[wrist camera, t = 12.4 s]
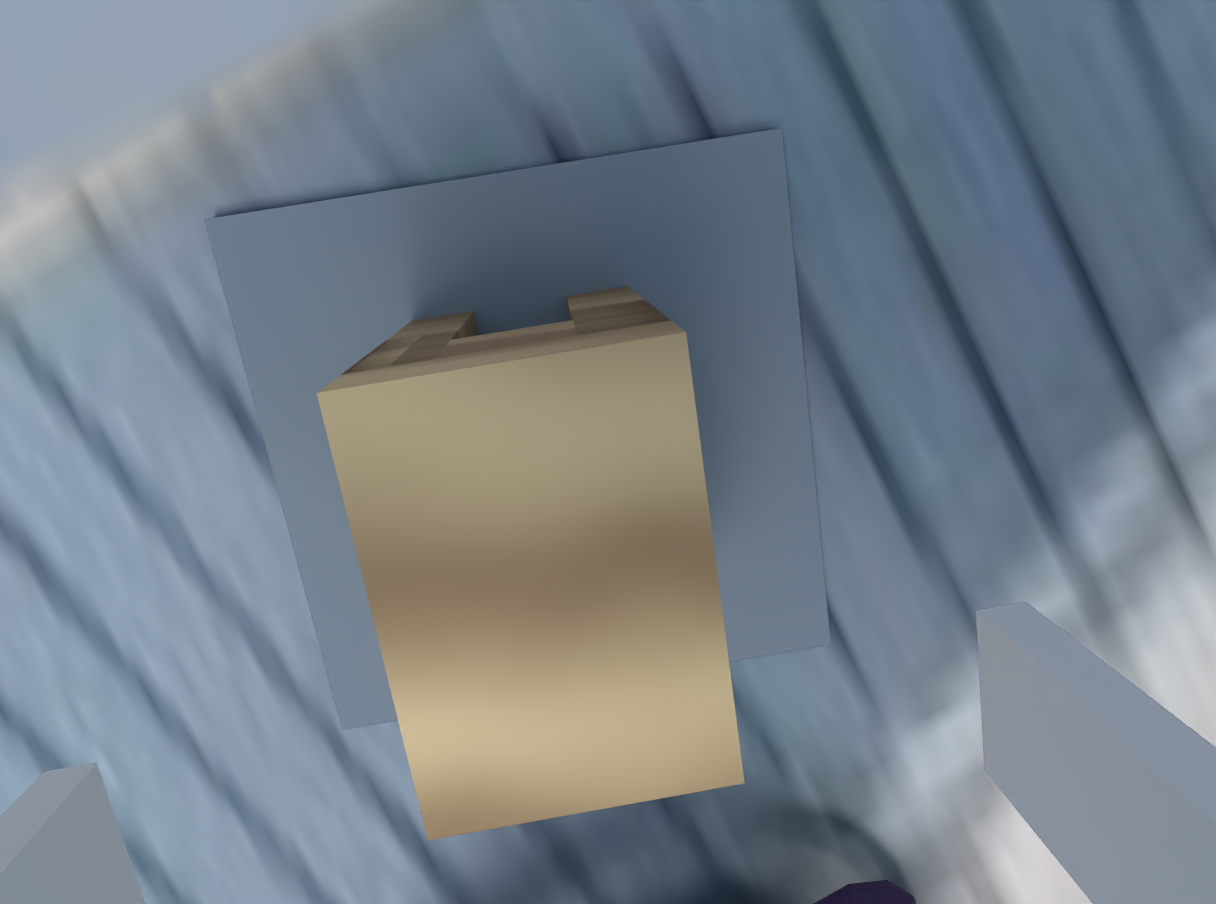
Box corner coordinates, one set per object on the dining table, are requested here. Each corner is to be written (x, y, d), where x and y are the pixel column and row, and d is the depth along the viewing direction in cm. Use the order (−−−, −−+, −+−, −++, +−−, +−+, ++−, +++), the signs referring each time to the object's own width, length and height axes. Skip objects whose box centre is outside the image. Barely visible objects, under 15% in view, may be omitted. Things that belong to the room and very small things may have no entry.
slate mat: (775, 130, 28) (782, 127, 27) (823, 634, 33) (830, 644, 32) (213, 219, 27) (204, 219, 26) (347, 717, 32) (342, 730, 31)
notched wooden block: (668, 570, 31) (744, 783, 19) (472, 604, 30) (428, 840, 19) (627, 285, 28) (686, 332, 16) (411, 320, 28) (316, 393, 16)
